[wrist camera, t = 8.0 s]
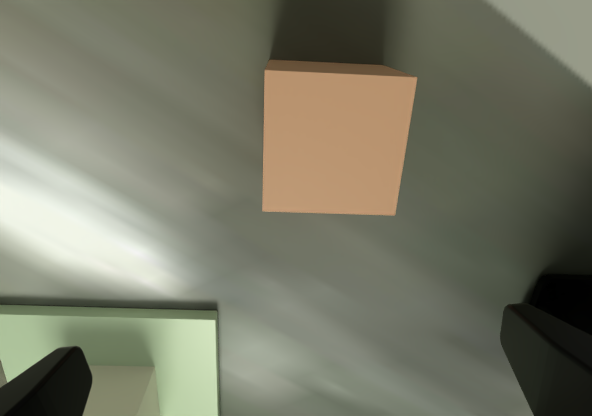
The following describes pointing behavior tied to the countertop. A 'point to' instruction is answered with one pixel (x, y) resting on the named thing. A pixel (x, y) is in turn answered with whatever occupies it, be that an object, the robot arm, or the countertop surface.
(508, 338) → the robot arm
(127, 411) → the cream brick
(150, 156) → the countertop surface
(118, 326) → the plate
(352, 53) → the countertop surface
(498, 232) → the countertop surface
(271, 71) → the terracotta brick
